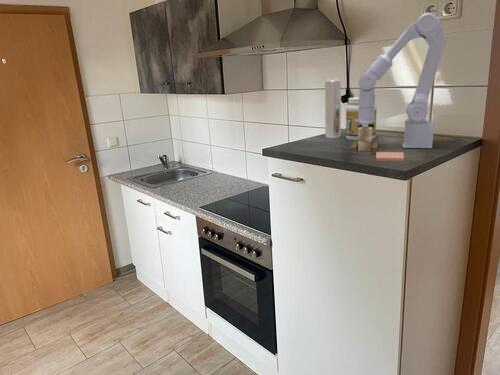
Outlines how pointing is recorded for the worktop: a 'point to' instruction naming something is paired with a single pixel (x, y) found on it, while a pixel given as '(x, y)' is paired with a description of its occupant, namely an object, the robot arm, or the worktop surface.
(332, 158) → the worktop surface
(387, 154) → the terracotta tile
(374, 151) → the slot rack
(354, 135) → the supplement tub
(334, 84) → the air filter
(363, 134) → the birch block
